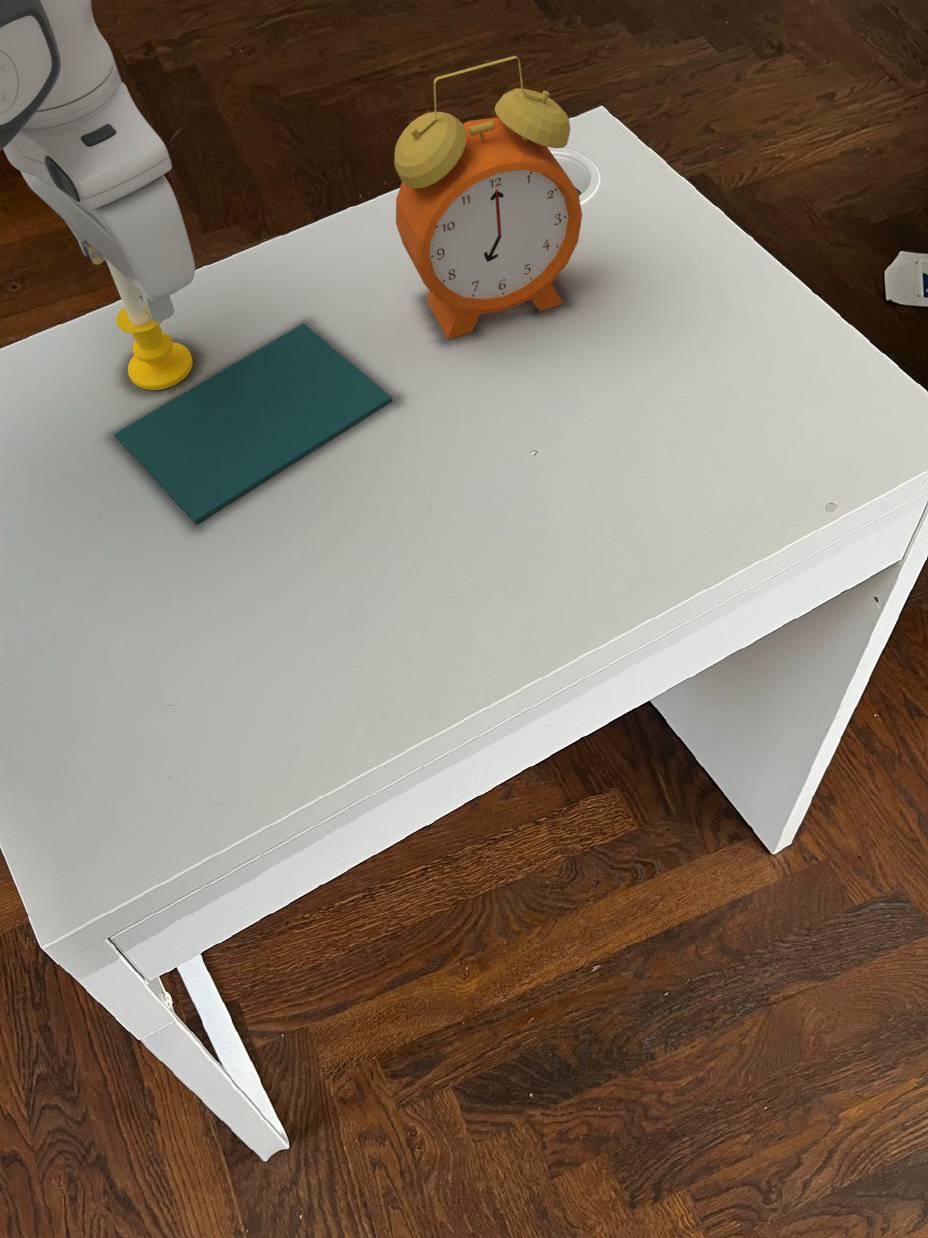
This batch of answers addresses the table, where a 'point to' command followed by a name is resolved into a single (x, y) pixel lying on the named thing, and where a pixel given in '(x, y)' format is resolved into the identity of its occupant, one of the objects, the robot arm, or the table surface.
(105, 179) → the robot arm
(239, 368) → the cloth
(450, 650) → the table surface
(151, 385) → the candle
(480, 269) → the alarm clock
